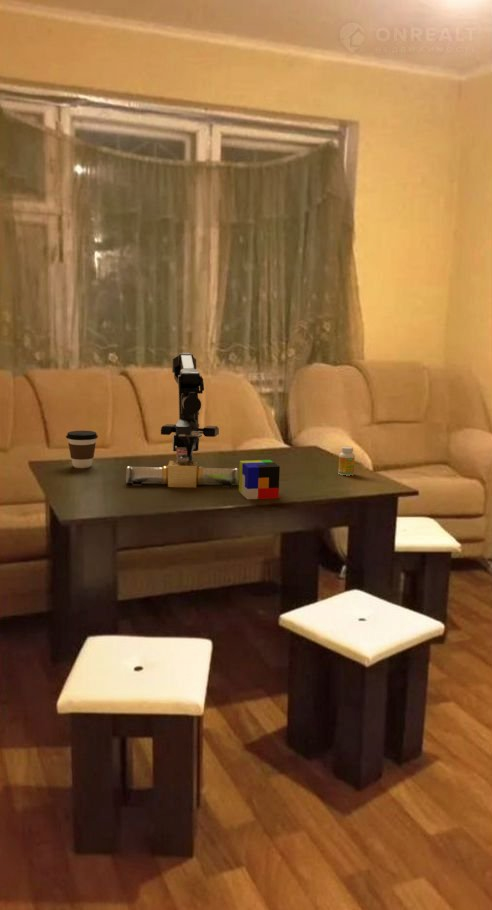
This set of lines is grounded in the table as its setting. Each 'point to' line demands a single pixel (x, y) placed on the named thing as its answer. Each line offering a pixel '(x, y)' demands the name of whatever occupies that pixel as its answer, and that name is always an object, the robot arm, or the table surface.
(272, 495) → the puzzle toy
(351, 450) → the supplement bottle
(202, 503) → the table surface
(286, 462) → the table surface
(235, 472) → the valve
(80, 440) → the coffee cup
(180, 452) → the lever
